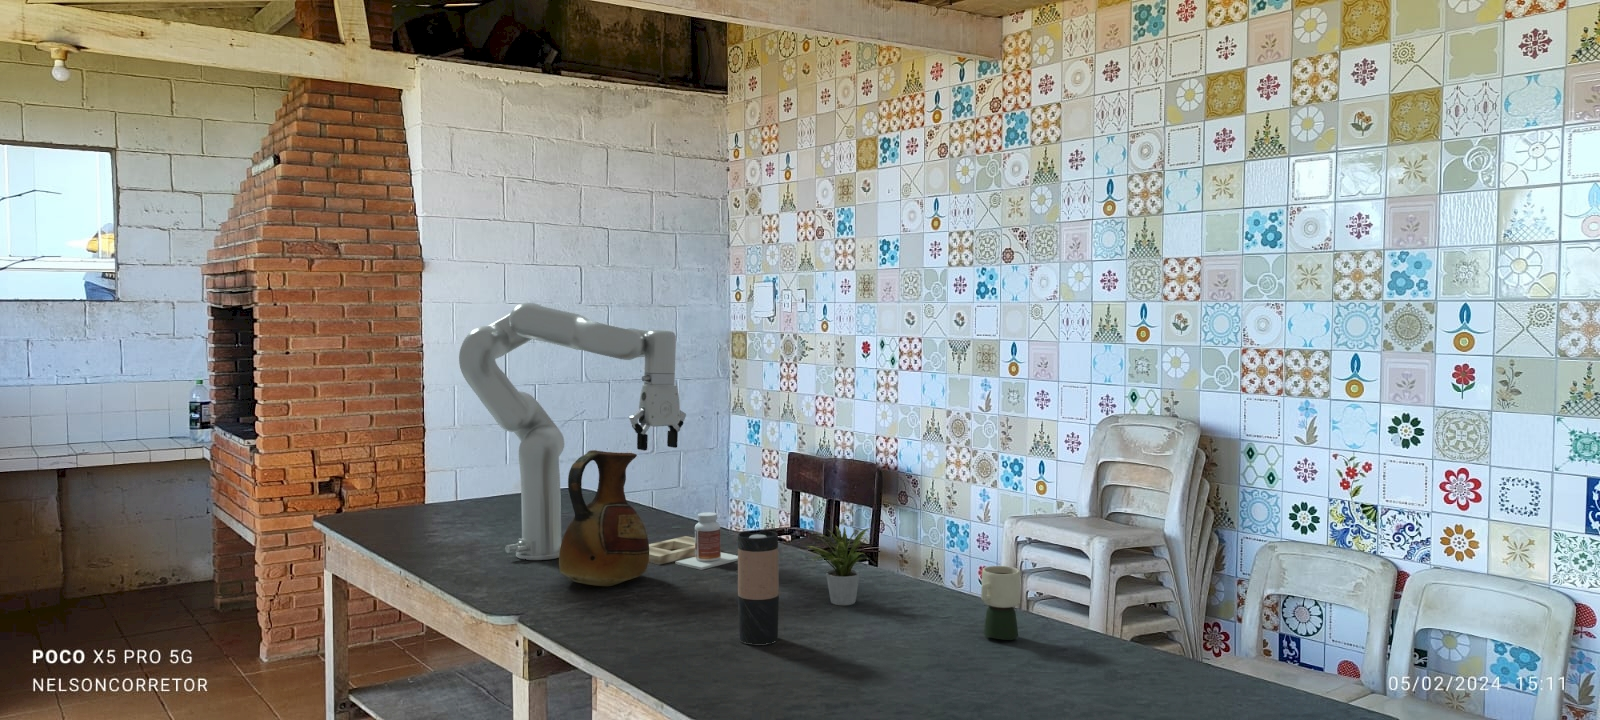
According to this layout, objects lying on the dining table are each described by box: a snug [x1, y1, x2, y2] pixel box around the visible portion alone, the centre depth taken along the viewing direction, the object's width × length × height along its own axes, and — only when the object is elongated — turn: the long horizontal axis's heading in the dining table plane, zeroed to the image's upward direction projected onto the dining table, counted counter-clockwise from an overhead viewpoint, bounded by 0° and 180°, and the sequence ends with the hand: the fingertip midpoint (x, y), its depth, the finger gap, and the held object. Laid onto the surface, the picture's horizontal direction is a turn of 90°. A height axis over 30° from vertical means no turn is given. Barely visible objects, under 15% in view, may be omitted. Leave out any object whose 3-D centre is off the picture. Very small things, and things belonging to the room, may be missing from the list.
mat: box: [674, 551, 738, 571], centre depth 274 cm, size 14×9×1 cm, turn 139°
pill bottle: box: [694, 511, 722, 562], centre depth 273 cm, size 6×6×11 cm
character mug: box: [980, 565, 1021, 641], centre depth 211 cm, size 11×7×13 cm, turn 131°
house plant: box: [806, 525, 872, 606], centre depth 238 cm, size 14×14×16 cm
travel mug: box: [737, 530, 780, 644], centre depth 211 cm, size 8×8×20 cm
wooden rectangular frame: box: [648, 535, 695, 566], centre depth 282 cm, size 20×12×2 cm, turn 139°
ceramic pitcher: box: [558, 449, 650, 587], centre depth 254 cm, size 20×20×30 cm
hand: (657, 448), depth 282 cm, fingers open, 9 cm apart
